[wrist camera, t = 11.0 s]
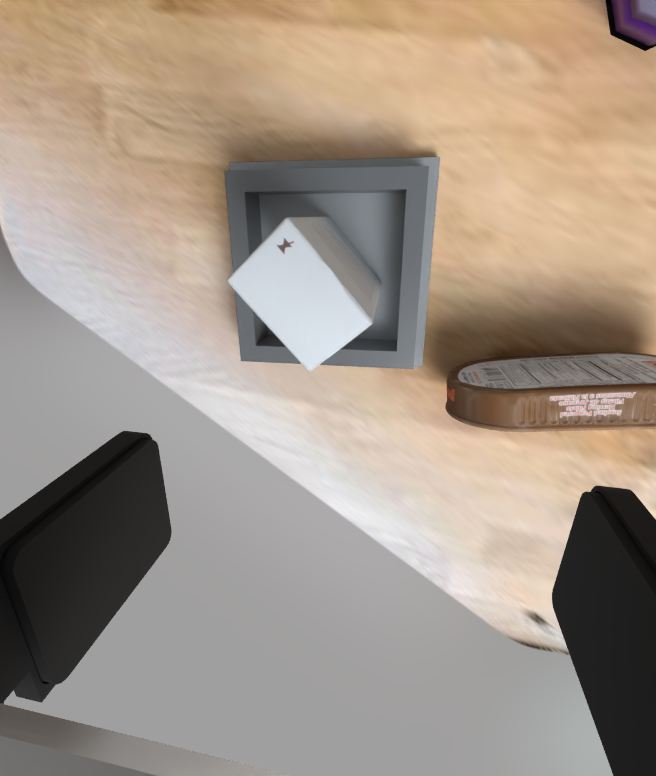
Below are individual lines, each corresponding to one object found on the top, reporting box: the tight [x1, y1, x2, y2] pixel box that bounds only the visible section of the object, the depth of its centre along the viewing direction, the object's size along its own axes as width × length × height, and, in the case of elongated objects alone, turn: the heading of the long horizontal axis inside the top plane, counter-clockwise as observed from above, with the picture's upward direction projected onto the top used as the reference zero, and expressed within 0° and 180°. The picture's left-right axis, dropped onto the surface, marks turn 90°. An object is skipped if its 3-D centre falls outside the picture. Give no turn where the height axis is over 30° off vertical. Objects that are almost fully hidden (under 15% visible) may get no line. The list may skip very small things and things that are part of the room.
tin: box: [446, 353, 656, 432], centre depth 27 cm, size 15×3×8 cm, turn 97°
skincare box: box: [227, 216, 382, 372], centre depth 24 cm, size 6×4×12 cm
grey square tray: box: [225, 157, 440, 369], centre depth 29 cm, size 14×14×4 cm
